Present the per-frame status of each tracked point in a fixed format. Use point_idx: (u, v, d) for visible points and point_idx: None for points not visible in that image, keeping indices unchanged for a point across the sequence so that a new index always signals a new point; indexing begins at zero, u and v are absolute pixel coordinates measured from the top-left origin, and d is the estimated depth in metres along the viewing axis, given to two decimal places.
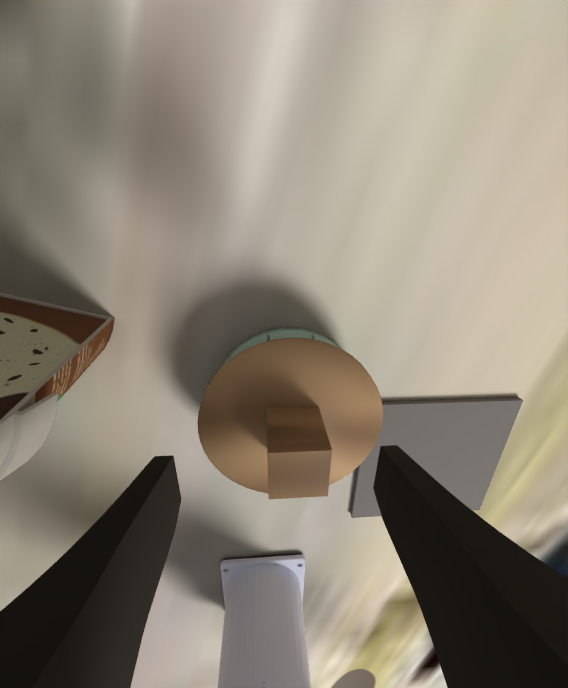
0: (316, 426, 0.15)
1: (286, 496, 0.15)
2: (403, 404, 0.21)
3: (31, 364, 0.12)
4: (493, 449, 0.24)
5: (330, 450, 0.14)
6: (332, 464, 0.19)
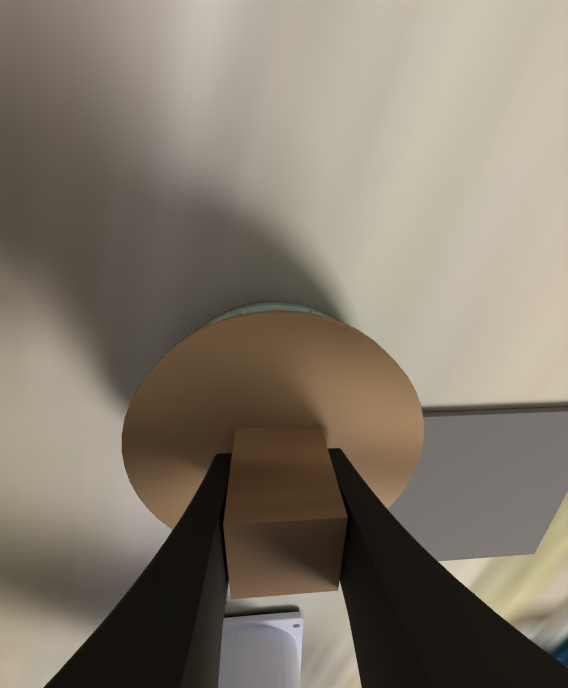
0: (316, 463, 0.09)
1: (264, 594, 0.08)
2: (442, 417, 0.15)
3: None
4: (561, 476, 0.17)
5: (344, 517, 0.07)
6: None
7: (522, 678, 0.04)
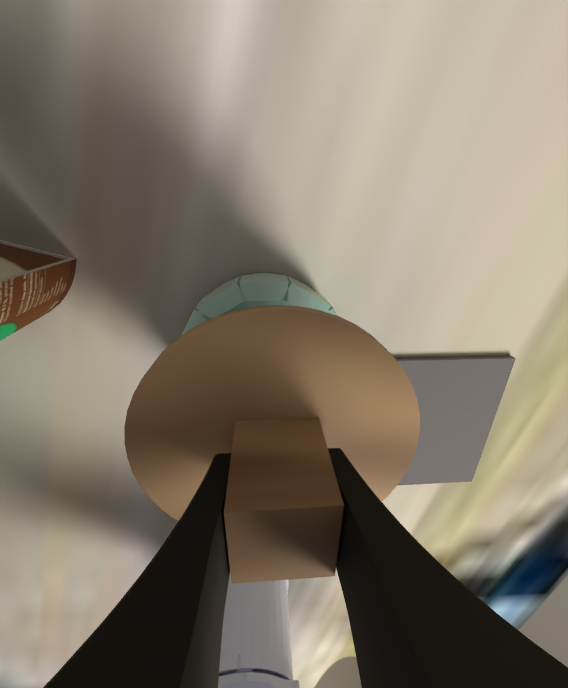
0: (314, 454, 0.09)
1: (263, 578, 0.08)
2: None
3: None
4: (485, 413, 0.23)
5: (340, 505, 0.07)
6: None
7: (522, 678, 0.04)
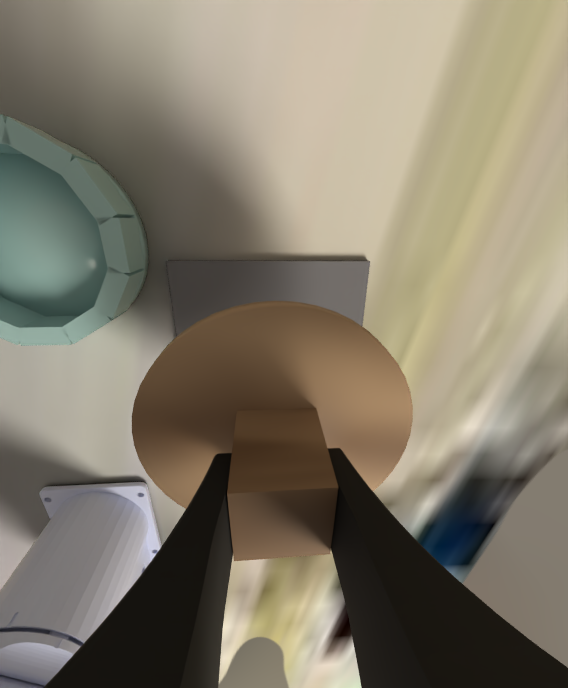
0: (311, 441, 0.09)
1: (263, 556, 0.09)
2: (212, 262, 0.17)
3: None
4: None
5: (335, 487, 0.08)
6: None
7: (522, 678, 0.04)
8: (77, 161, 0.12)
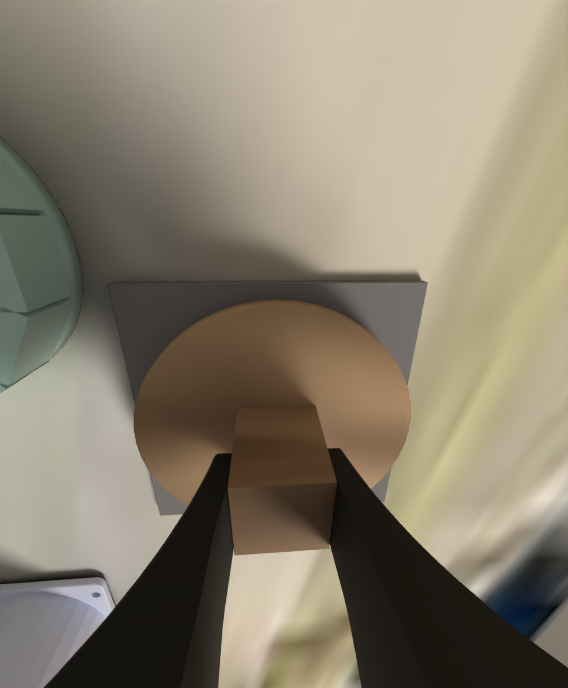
0: (311, 438, 0.10)
1: (263, 551, 0.09)
2: (182, 285, 0.11)
3: None
4: None
5: (334, 482, 0.08)
6: None
7: (522, 678, 0.04)
8: None
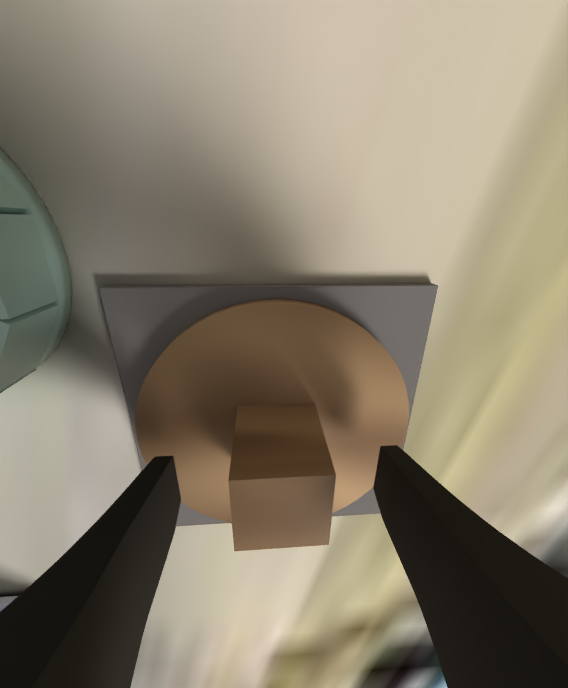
0: (310, 433, 0.10)
1: (263, 546, 0.09)
2: (178, 288, 0.10)
3: None
4: None
5: (333, 475, 0.08)
6: (335, 486, 0.13)
7: None
8: None
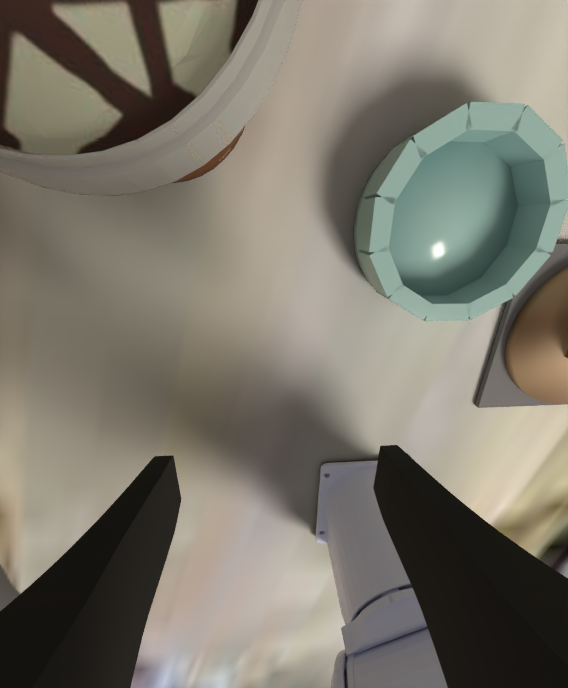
0: None
1: None
2: None
3: None
4: None
5: None
6: None
7: None
8: (563, 147, 0.14)
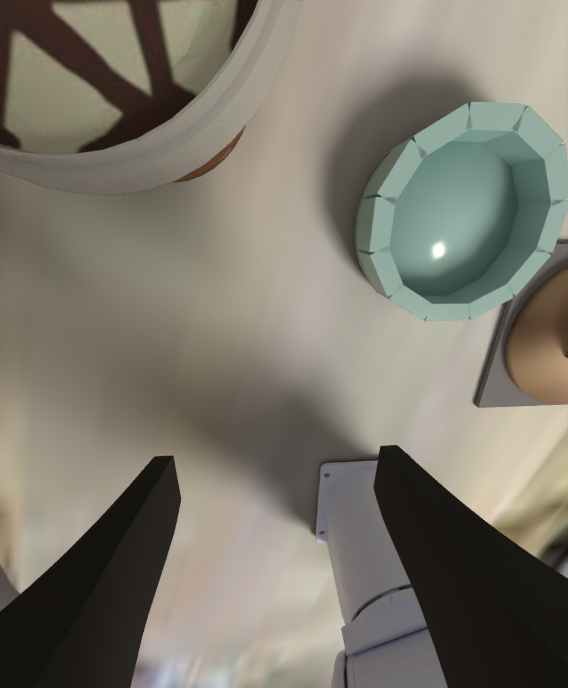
0: None
1: None
2: None
3: None
4: None
5: None
6: None
7: None
8: (564, 147, 0.14)
